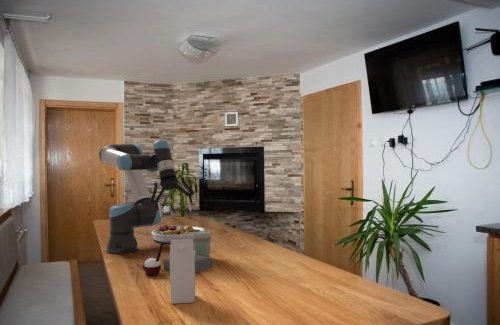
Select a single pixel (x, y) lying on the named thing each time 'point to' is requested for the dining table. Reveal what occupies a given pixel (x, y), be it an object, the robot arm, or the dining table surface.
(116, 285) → the dining table surface
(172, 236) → the bowl
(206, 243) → the coffee cup
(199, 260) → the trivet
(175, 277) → the milk carton
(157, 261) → the cocoa
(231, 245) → the dining table surface
